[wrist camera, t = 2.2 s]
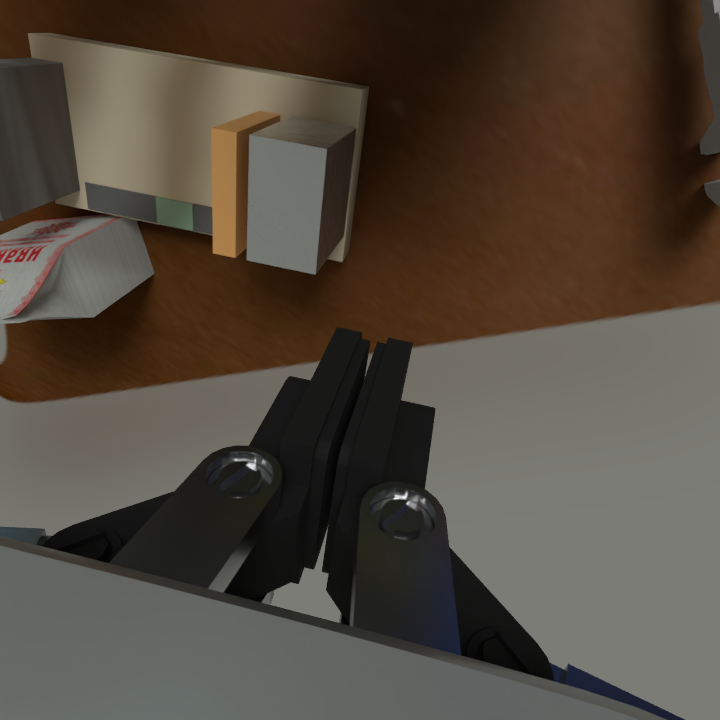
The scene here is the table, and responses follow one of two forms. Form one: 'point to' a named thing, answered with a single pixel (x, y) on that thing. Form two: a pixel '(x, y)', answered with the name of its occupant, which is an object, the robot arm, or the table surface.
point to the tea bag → (69, 267)
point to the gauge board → (142, 128)
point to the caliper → (711, 83)
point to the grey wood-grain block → (298, 192)
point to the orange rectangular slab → (233, 180)
